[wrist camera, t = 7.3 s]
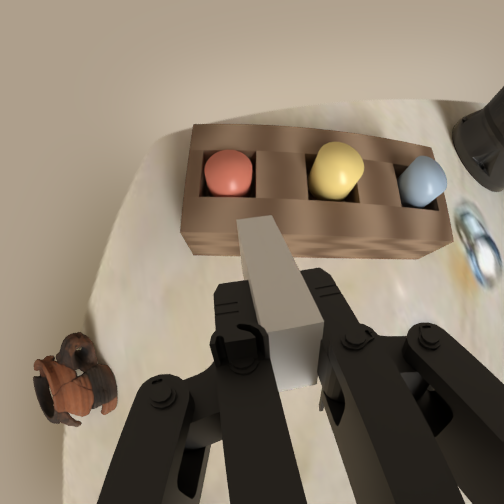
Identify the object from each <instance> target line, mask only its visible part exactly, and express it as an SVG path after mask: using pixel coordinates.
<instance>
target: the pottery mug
mask: <svg viewBox="0 0 504 504" xmlns="http://www.w3.org/2000/svg"><path fill="white" fill-rule="evenodd" d="M79 347H82V349H81V350H76V349H78V348H79ZM54 359H55V357H54V356H47V357H45V358H44V359H43V360H40V359H37V360H36V361H35V363H34V370H36V371H38V370H40V376H34V377H33V381H34V387H35V392H36V395H37V399H38V401H39V404H40V407H41V409H42V411H43V413H44V415H45V416H46V417H47V419H48V420H49V421H50V422H52V423H56V424H57V423H58V424H59V423H60V422H61V423H64V424H66V425H68V426H75V427H78V426H80V425H81V424H82V423H81V422H80V421H77V420H75V419H74V418H72V417H71V416H70V414H69V413H71V414H75V415H77V416H81V417H83V416H86V415H88V414H89V413H90V411H91V409H95V408H97V407H98V406H101V405H102V410H101V413H102V414H103V415H105V414H108V413H109V412H111V411H112V410H114V409H115V408H116V405H117V386H116V382H115V379H114V376H113V374H112V372H111V370H110V368H109V367H108V365H102V364H97V362H98V359H97V357H96V353H95V348H94V345H93V343H92V341H91V340H90V339H89V337H87V336H86V335H84V334H82V333H81V332H78V333H73V334H70V335H68V336H67V337H66V338H65V339H64V340H63V343H62V345H61V349H60V352H59V353H58V354H57V355H56V359H57V361H54ZM77 369H80V370H81V371H83V372H84V373H83V374H82V375H80V376H77V373H76V371H75V370H77ZM49 386H50V388H51V392H52V395H53V399H52V397H51V394H50V390H49ZM53 401H54V402H53ZM53 405H54V406H53ZM68 412H69V413H68Z"/></svg>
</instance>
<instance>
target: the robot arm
mask: <svg viewBox="0 0 504 504" xmlns="http://www.w3.org/2000/svg"><path fill="white" fill-rule="evenodd" d="M453 141H454V145H455V148H456V150H457V153H458V155H459V157H460V159H461V161H462V162H463V164H464V165H465V167H466V168H467V170H468V171H469V172H470V174H471V175H472V176H473V177H474V178H475V179H476V180H477V181H478V182H479V183H480V184H481V185H482V186H484V187H485V188H487V189H489V190H491V191H494V192H500V191H502V190H503V189H504V86H503V88H502V89H501V90H500V91H499V92H498V93H497V94H496V95H495V96H494V98H493V99H492V100H491V101H490V102H489V103H488V104H487V105H486V106H485V107H484V108H483V109H481V110H479V111H477V112H474V113H472V114H470V115H468V116H465V117H463V118H462V119H460V121H459V122H458V123H457V124H456V125H455V126H454V128H453ZM236 221H237V229H238V238H239V246H240V254H241V263H242V271H243V277H244V280H243V281H237V282H230V283H223V284H219V285H218V287H217V289H216V291H215V293H214V310H215V326H216V331H215V332H214V333H213V335H212V336H211V340H210V348H211V352H212V355H213V359H214V362H213V363H212V365H211V366H210V367H209V368H208V369H206V370H205V371H204V372H202V373H200V374H198V375H195V376H193V377H190V378H188V379H185V380H182V379H181V378H179V377H177V376H174V375H171V374H162V375H157V376H154V377H152V378H150V379H148V380H147V381H146V382H144V383H143V384H142V386H141V387H140V389H139V390H138V392H137V394H136V397H135V399H134V402H133V404H132V407H131V409H130V412H129V415H128V417H127V420H126V422H125V425H124V428H123V430H122V433H121V436H120V438H119V441H118V444H117V447H116V449H115V452H114V455H113V458H112V460H111V463H110V466H109V469H108V472H107V475H106V478H105V481H104V484H103V487H102V490H101V493H100V496H99V499H98V502H97V504H199V503H200V498H201V493H202V488H203V483H204V477H205V472H206V467H207V462H208V457H209V452H210V447H211V444H213V443H215V442H218V441H220V440H223V449H224V457H225V466H226V474H227V482H228V490H229V497H230V504H307V501H306V497H305V493H304V490H303V486H302V482H301V478H300V474H299V470H298V466H297V462H296V459H295V455H294V451H293V447H292V443H291V439H290V435H289V431H288V427H287V423H286V419H285V415H284V411H283V407H282V403H281V399H280V395H279V392H282V391H287V390H292V389H297V388H302V387H306V386H311V385H315V384H317V378H318V376H319V379H320V382H321V385H322V391H321V397H320V402H319V411H323V408H324V407H325V410H326V413H327V416H328V419H329V422H330V425H331V428H332V431H333V433H334V436H335V439H336V442H337V445H338V448H339V451H340V454H341V457H342V460H343V463H344V466H345V469H346V472H347V475H348V478H349V481H350V484H351V487H352V490H353V493H354V497H355V500H356V503H357V504H465V502H464V500H463V497H462V495H461V493H460V490H459V488H460V489H461V490H462V492H463V493H464V494H465V495H466V496H467V498H468V499H469V500H470V501H471V502H472V504H504V384H503V383H502V382H501V381H500V380H499V379H498V378H496V377H495V376H494V375H493V374H492V373H491V372H490V371H489V370H488V369H487V368H486V367H485V366H484V365H483V364H482V363H481V362H479V361H478V360H477V359H476V358H475V357H474V356H473V355H472V354H471V353H470V352H468V351H467V350H466V349H465V348H464V347H463V346H462V345H461V344H460V343H458V342H457V341H456V340H455V339H454V338H453V337H452V336H450V335H449V334H448V333H447V332H446V331H445V330H444V329H442V328H440V327H439V326H437V325H435V324H431V323H419V324H416V325H413V326H412V327H411V328H410V329H409V331H408V334H407V336H380V335H377V333H376V332H375V331H374V330H373V329H372V328H370V327H368V326H366V325H364V324H360V323H359V322H358V320H357V318H356V316H355V315H354V313H353V311H352V310H351V308H350V306H349V305H348V303H347V301H346V300H345V298H344V296H343V295H342V294H341V291H340V290H339V288H338V287H337V286H336V283H335V282H334V280H333V278H332V277H331V275H330V274H328V273H327V272H325V271H324V270H323V269H321V268H314V269H308V270H302V271H300V270H299V268H298V266H297V264H296V262H295V260H294V258H293V256H292V254H291V252H290V250H289V248H288V246H287V244H286V242H285V240H284V238H283V236H282V234H281V232H280V230H279V229H278V227H277V225H276V223H275V221H274V219H273V217H272V215H269V216H261V217H253V218H246V219H239V220H236ZM458 487H459V488H458Z"/></svg>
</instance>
